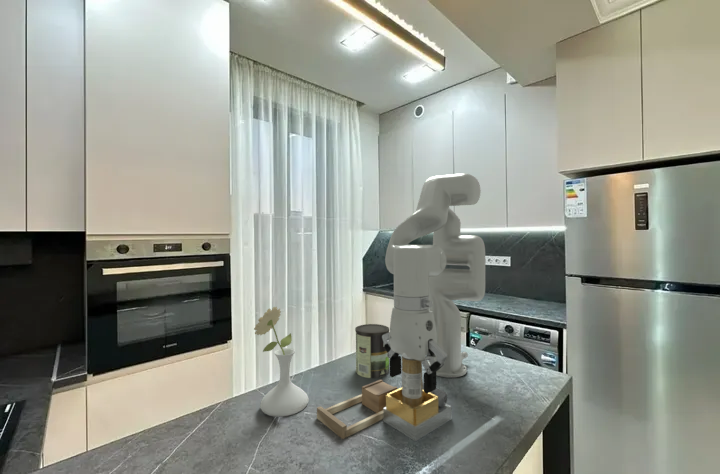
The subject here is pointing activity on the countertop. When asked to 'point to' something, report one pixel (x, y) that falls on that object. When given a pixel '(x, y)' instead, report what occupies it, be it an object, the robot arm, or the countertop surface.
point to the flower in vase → (285, 393)
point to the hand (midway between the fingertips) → (411, 382)
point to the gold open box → (417, 413)
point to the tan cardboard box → (376, 395)
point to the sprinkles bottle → (411, 381)
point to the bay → (339, 426)
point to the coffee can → (371, 351)
